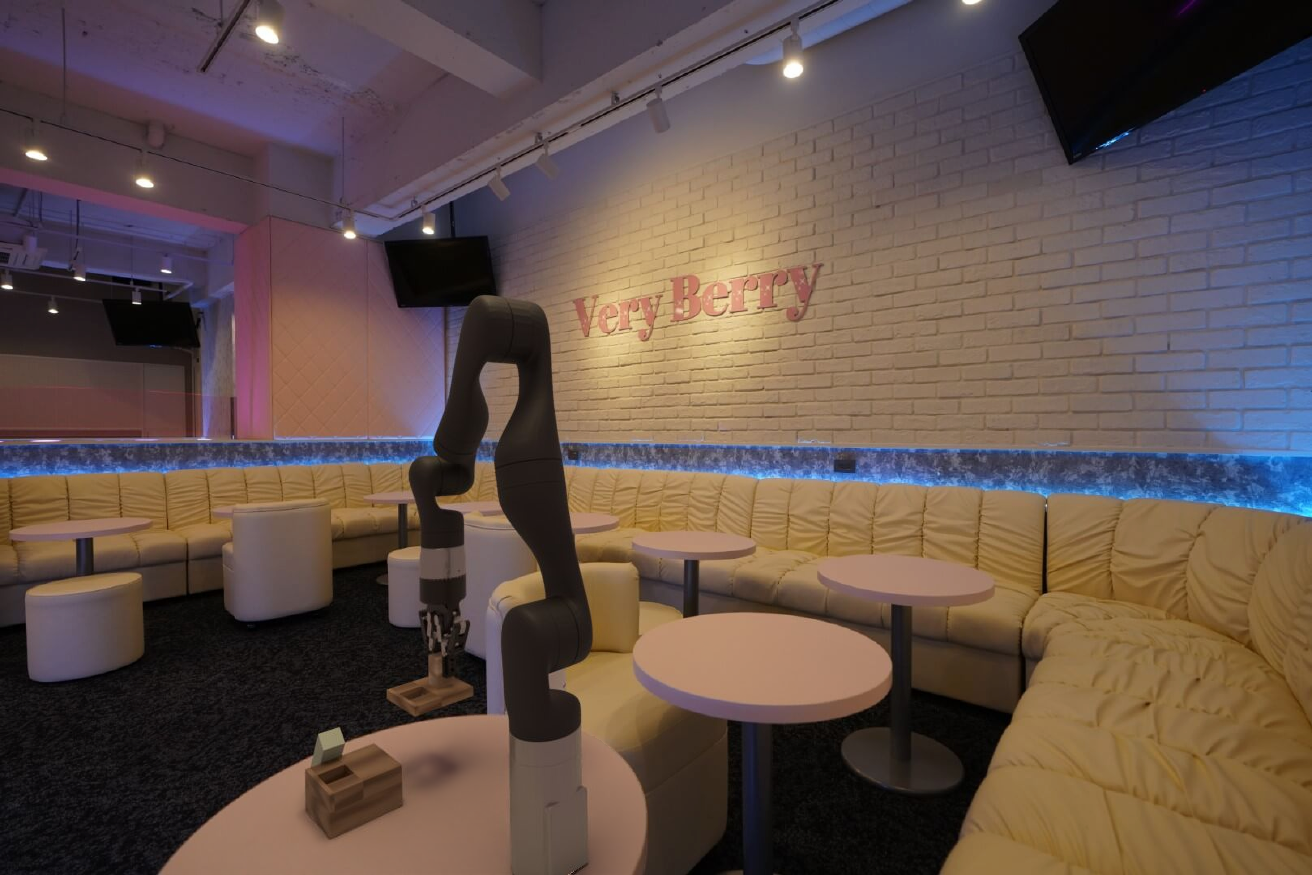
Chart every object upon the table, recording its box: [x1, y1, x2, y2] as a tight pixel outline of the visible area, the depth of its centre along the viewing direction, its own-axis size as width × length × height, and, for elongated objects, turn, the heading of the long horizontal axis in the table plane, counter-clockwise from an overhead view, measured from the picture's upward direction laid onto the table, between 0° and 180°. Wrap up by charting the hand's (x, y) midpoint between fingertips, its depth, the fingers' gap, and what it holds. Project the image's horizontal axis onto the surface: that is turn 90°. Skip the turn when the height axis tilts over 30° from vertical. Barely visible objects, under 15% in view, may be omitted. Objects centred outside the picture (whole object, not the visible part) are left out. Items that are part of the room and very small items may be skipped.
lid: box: [386, 652, 474, 717], centre depth 97 cm, size 10×10×6 cm
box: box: [304, 743, 404, 840], centre depth 87 cm, size 10×10×6 cm
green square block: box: [310, 727, 346, 767], centre depth 91 cm, size 3×3×10 cm
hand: (443, 673), depth 99 cm, fingers closed on lid, 3 cm apart
